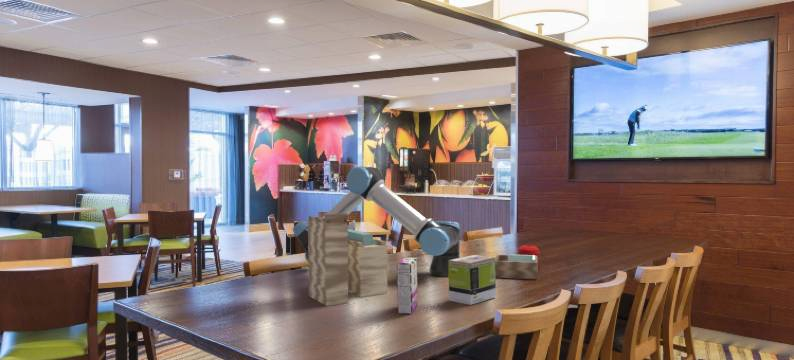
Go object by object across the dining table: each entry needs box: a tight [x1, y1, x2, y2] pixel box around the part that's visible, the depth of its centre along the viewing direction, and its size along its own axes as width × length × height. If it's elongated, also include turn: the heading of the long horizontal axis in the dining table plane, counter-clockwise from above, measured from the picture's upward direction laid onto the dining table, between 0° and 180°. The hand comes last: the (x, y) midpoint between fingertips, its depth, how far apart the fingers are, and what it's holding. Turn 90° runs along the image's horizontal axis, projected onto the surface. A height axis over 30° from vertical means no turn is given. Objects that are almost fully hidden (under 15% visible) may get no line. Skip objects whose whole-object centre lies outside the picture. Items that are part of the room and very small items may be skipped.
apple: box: [517, 243, 541, 260], centre depth 253 cm, size 10×10×11 cm
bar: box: [348, 229, 374, 245], centre depth 213 cm, size 27×4×4 cm, turn 30°
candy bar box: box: [396, 257, 418, 315], centre depth 177 cm, size 11×5×16 cm, turn 168°
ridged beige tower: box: [348, 238, 388, 298], centre depth 207 cm, size 22×11×20 cm, turn 30°
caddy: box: [495, 254, 539, 280], centre depth 235 cm, size 18×18×7 cm
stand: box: [307, 214, 349, 307], centre depth 191 cm, size 17×8×31 cm, turn 30°
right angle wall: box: [507, 254, 535, 262], centre depth 237 cm, size 12×12×8 cm
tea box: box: [448, 254, 497, 306], centre depth 190 cm, size 15×10×15 cm, turn 134°
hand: (340, 223), depth 223 cm, fingers open, 13 cm apart
